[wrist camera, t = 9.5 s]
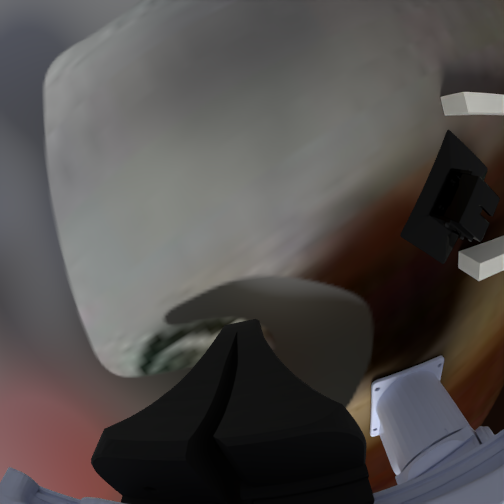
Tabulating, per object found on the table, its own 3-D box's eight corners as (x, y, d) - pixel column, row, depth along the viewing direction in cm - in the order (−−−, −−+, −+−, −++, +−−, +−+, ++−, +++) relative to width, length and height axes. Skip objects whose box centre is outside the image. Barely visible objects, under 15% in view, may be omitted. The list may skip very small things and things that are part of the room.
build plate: (435, 281, 22) (464, 306, 17) (375, 245, 21) (402, 268, 16) (493, 159, 18) (529, 165, 14) (440, 107, 17) (477, 102, 13)
